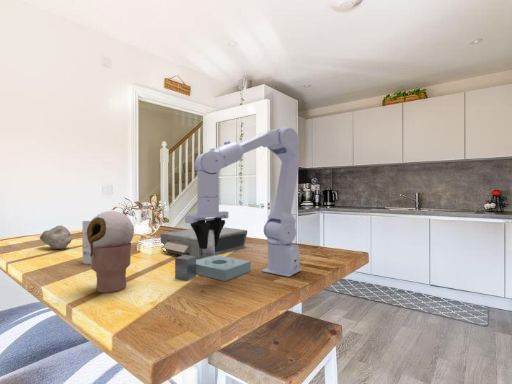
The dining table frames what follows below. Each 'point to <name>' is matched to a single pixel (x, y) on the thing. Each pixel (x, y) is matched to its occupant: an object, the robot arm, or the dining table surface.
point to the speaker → (188, 244)
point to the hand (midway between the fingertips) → (208, 247)
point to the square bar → (185, 267)
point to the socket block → (222, 267)
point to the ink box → (86, 244)
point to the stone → (57, 237)
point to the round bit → (210, 244)
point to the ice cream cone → (110, 249)
